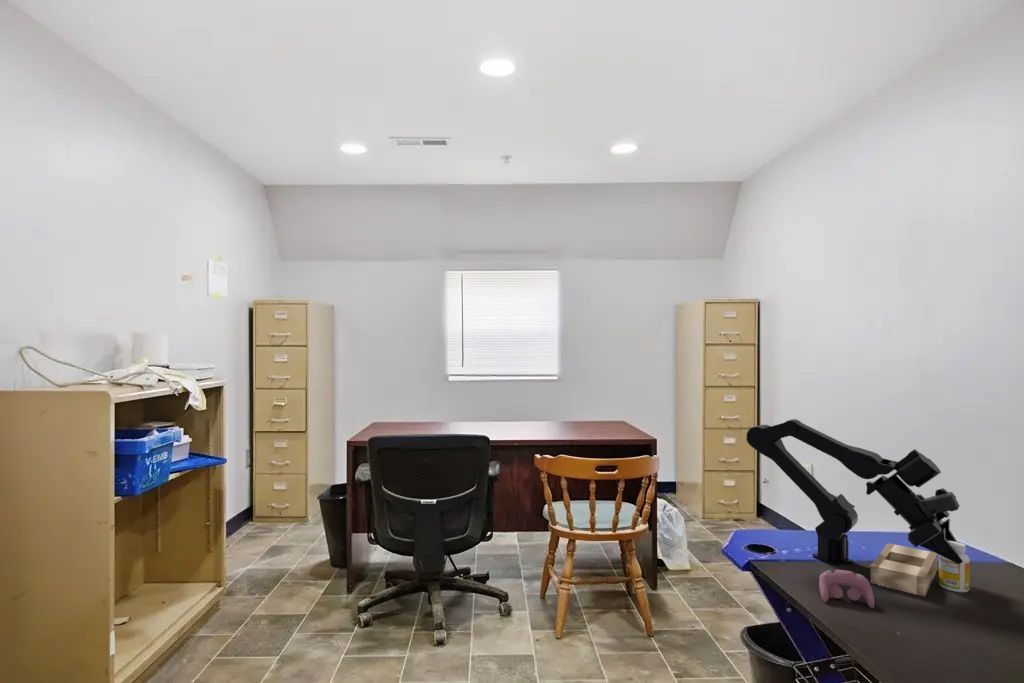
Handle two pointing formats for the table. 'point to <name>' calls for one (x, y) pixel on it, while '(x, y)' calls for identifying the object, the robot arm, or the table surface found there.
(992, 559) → the table surface
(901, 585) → the holder block
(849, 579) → the video game controller
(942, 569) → the supplement bottle
